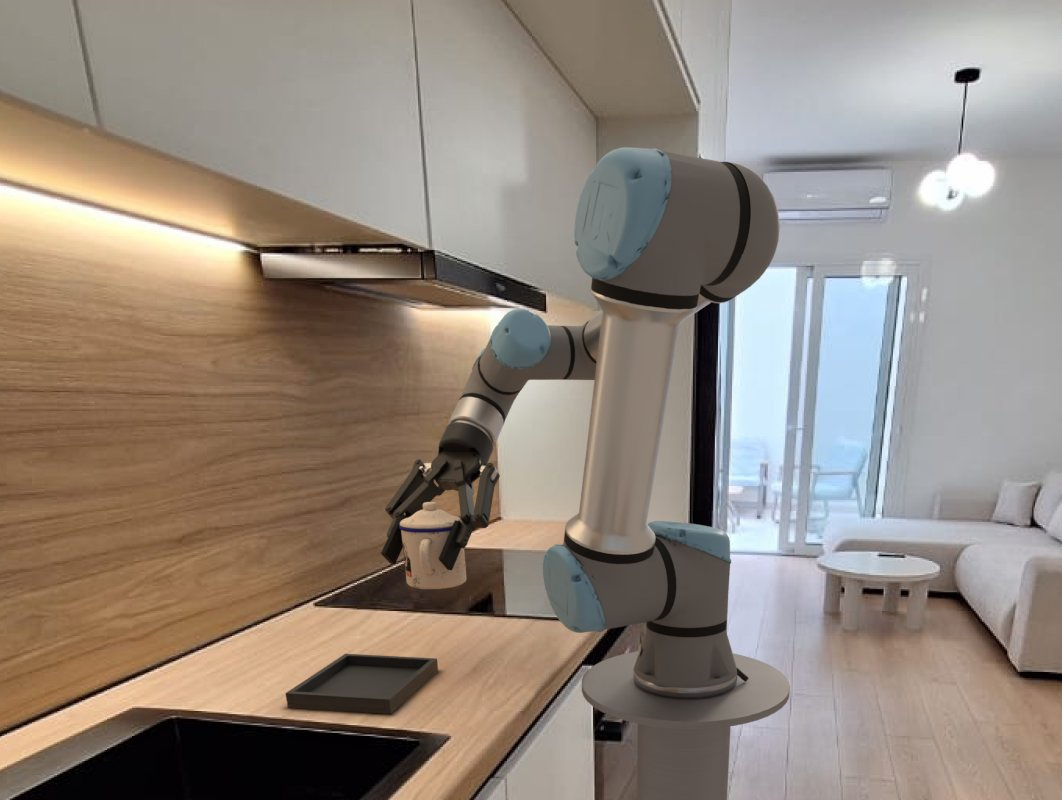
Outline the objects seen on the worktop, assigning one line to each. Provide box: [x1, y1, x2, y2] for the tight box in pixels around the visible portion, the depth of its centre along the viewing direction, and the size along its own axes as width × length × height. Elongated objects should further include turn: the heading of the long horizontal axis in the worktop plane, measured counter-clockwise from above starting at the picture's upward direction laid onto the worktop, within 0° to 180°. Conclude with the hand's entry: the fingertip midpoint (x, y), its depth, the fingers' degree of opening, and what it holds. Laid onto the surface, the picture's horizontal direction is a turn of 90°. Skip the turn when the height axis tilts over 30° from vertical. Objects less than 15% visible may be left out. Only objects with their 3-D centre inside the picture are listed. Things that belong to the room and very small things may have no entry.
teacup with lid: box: [399, 501, 467, 590], centre depth 116 cm, size 12×9×12 cm
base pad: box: [285, 653, 439, 715], centre depth 114 cm, size 15×17×2 cm
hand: (416, 561), depth 114 cm, fingers closed on teacup with lid, 9 cm apart
